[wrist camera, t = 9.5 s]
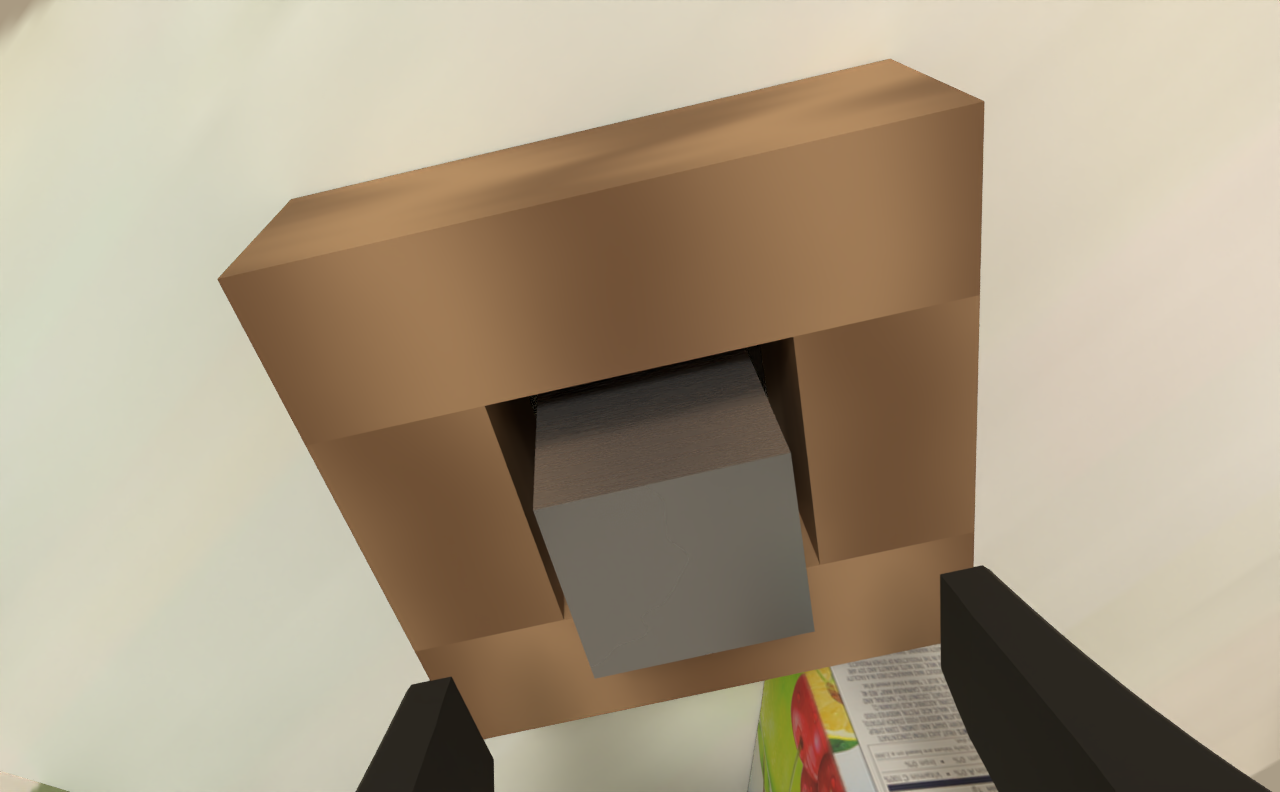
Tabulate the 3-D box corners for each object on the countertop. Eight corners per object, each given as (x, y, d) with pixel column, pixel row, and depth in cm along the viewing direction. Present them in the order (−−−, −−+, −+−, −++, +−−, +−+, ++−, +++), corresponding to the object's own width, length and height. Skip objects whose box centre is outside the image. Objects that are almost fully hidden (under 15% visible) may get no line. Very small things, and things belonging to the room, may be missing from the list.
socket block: (890, 59, 15) (984, 101, 12) (906, 522, 22) (971, 636, 18) (291, 199, 16) (217, 279, 12) (478, 614, 22) (463, 743, 19)
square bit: (716, 281, 18) (790, 453, 12) (742, 428, 20) (814, 631, 14) (540, 322, 18) (532, 510, 12) (583, 463, 20) (594, 678, 14)
